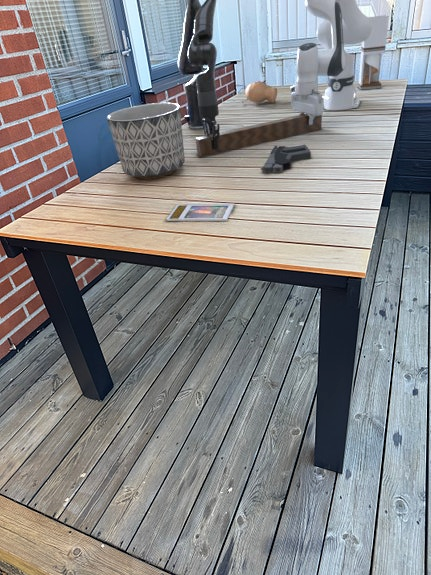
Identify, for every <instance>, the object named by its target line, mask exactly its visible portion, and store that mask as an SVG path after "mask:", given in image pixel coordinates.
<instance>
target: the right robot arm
mask: <svg viewBox="0 0 431 575" xmlns="http://www.w3.org/2000/svg"><path fill="white" fill-rule="evenodd" d="M304 5H305V8H306V11H308V12H309V13H310V14H311V15H312V16H315V17H317V18H319V19H323V20H322V21H320V23H319V24H318V26H317V28H316V34H315V35H316V36H315V37H316V39H317V42H318V43H319V44H320V45H321V46H322V47H323V48H324V49H320V50H319V49H318V44H317V43H315V42H306V43H303V44H301V45H299V47H298V48H297V55H296V67H295V68H296V69H295V70H296V71H295V72H296V76H297V77H296V84H295V85H292V86H290V89H289V91H290V93H291V94H290V108H291V109H292V110H293V111H297V112H298V115H302V114H306V113H307V114H309V120H308V124H309V125H312V124H313V119H314V117H315V116H319V115H322V116H323V114H324V111H325V110H326V111H345V110H346V111H347V110H352V109H358V108H359V106H360V104H361V99H358V98H357V89H356V87H355V86H354V80H355V74H354V57H353V56H352V55H351V54H350V53H349V52H346V50H345V47H344V45H345V46H346V45H356V44H360V43H361V44H362V42H364V41H366V40H367V39H368V37H369V36H370V34H371V30H372V24H371V21H370V19H369V18H368V17H369V16H367V15H366V14H364V13H363V11H361V9H360V8H359V5H358V3H357V1H356V0H304ZM319 77H328V79H327V80H328V81H327V88H326V89H325V91H324V95H322V94H321V91H320V90H319Z"/></svg>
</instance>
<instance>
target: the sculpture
mask: <svg viewBox="0 0 431 575" xmlns="http://www.w3.org/2000/svg"><path fill="white" fill-rule="evenodd" d="M266 81H267V80H266V79H265V80H263V81H260V80H257V81H256V82H251V83H249V84H248V85H247V86H245V85H243V84H239V83H237V84H235V85H234V86H235V87H241V90H242V89H244V88H245V97H246V100H242V101H241V103H242V104H243V105H244V106H246V104H245V103H244V102H247V101H249V102H251V103H253V104H261V103H264V102H265V101H268V102H269V103H275V102H276V99H277V96H278V88H277V87H272V86H270V85H268V84H267V82H266ZM241 90H239V91H238V92H237V94H240V93H241Z"/></svg>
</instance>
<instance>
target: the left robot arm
mask: <svg viewBox="0 0 431 575" xmlns="http://www.w3.org/2000/svg"><path fill="white" fill-rule="evenodd" d="M186 4H187V5H186V10H185V16H184V22H183V33H182V41H181V46H180V51H179V53H178V60H177V67H178V71H179V74H180V75H181V76H184V77H188V76H189V77H190V76H193V78H192V79H191V80H190V81H189V82H187V83H185V85H184V91H185V96H186V98H185V99H186V106H187V107H186V111H187V115H184V116H183V117H184V122H186V123H187V125H188V127H189V128H190V129H191V130H200V129H203V134H204V136H207V135H210V136H211V141H212V149H218V144H217V139H218V138H219V133H220V123H217V120H216V117H217V116H218V115H219V114H220V112H219V111H220V110H219V104H218V102H219V101H218V94H217V90H216V80H215V78H216V77H215V76H216V74H215V72H216V63H217V57H218V50H217V46H216V45H215V44H214V43H212V40H213V38H214V18H215V13H216V12H215V11H216V5H217V0H205V1H204V2H203V4H201V1H200V0H187V3H186ZM206 66H207V69H206V70H205V71H204V67H206ZM212 134H213V135H212Z"/></svg>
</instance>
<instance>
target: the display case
mask: <svg viewBox="0 0 431 575" xmlns="http://www.w3.org/2000/svg"><path fill="white" fill-rule="evenodd" d="M367 17H368V18H369V19H370V21H371V24H372V30H371V34H370V36H369V37H368V39H367V40H366V41H364V42H361V45H360V46H361V48H360V59H359V60H360V61H359V74H358V88H359V90H360V91H363V90H373V89H382V86H383V85H382V83H381V82H380V75H381V64H382V55H383V54H385V53H386V46H387V37H388V36H387V35H388V27H389V26H388V25H389V15H386V14H385V15H375V16H367Z"/></svg>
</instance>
